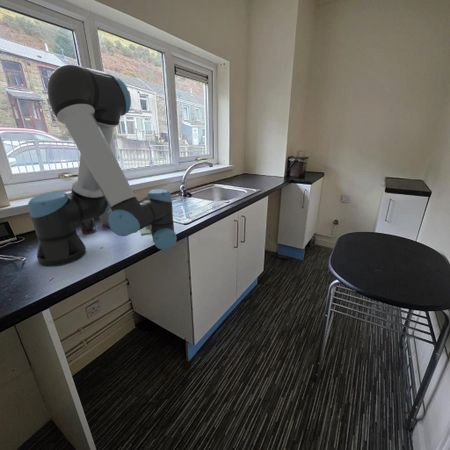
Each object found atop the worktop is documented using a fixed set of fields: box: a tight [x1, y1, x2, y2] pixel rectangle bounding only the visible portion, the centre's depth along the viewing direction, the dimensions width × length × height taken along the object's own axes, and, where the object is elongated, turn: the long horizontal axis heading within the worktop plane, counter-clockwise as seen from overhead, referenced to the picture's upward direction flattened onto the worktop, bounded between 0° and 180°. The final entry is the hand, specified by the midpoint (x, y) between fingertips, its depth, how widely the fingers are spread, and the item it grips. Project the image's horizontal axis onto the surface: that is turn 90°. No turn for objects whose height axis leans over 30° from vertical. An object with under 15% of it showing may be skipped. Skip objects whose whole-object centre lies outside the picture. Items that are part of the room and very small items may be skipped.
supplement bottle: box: [79, 218, 97, 235], centre depth 110 cm, size 6×6×11 cm
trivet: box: [140, 227, 152, 236], centre depth 118 cm, size 13×17×1 cm
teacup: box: [99, 208, 112, 227], centre depth 121 cm, size 14×11×8 cm
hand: (152, 208), depth 112 cm, fingers closed
